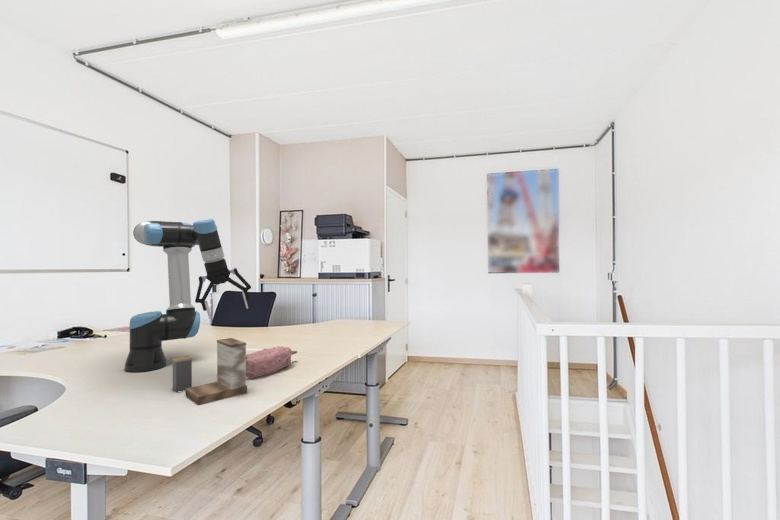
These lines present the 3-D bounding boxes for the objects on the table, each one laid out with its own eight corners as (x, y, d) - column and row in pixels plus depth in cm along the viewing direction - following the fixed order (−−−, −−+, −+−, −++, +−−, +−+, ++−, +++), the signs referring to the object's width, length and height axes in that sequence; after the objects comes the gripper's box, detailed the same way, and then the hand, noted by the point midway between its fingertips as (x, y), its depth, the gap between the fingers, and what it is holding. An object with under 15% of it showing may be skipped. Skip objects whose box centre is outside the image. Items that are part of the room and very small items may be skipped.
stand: (198, 405, 121) (198, 350, 121) (185, 395, 130) (185, 344, 130) (247, 392, 133) (247, 342, 133) (232, 384, 141) (232, 337, 141)
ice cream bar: (306, 343, 171) (254, 359, 145) (306, 363, 171) (254, 382, 145) (284, 341, 177) (230, 355, 151) (284, 360, 177) (230, 377, 151)
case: (176, 392, 133) (176, 360, 133) (172, 389, 136) (172, 358, 136) (191, 389, 137) (191, 358, 137) (188, 386, 140) (188, 356, 140)
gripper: (176, 269, 138) (193, 325, 142) (249, 253, 147) (262, 305, 151) (179, 267, 144) (195, 319, 149) (247, 251, 153) (260, 301, 158)
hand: (229, 312), depth 150 cm, fingers open, 13 cm apart
